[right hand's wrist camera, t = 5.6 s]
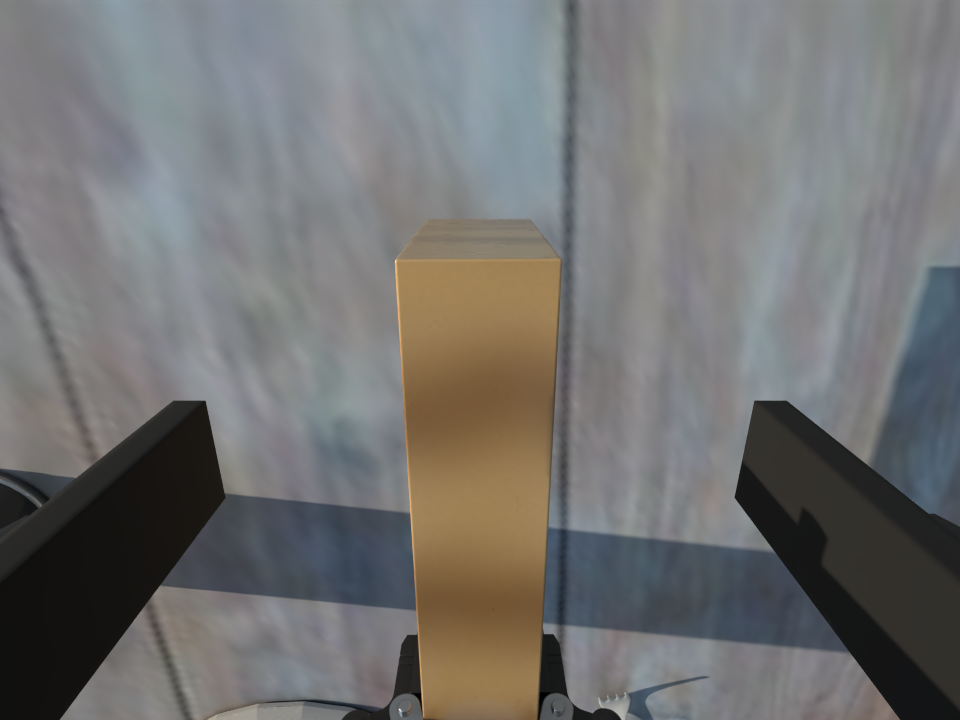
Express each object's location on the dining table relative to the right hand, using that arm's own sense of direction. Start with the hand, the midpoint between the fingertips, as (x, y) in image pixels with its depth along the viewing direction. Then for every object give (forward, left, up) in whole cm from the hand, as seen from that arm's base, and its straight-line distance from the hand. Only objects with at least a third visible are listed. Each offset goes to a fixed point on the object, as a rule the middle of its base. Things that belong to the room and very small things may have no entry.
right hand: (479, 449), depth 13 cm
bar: (+4, +6, -12) cm, 14 cm away
